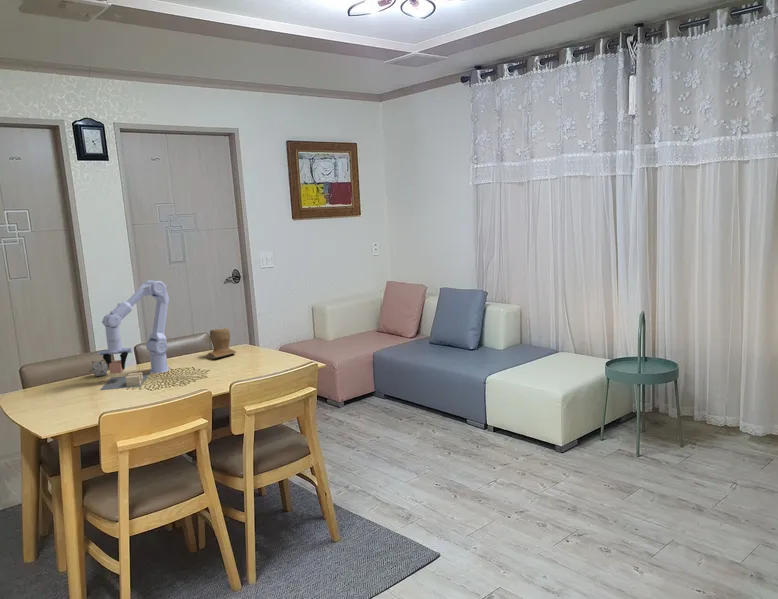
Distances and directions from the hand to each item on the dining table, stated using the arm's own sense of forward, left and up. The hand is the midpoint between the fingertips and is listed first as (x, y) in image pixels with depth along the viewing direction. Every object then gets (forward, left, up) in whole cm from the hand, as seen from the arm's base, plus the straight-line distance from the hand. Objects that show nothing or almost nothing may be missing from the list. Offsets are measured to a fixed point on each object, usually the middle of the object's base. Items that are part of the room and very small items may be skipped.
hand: (117, 369), depth 279 cm
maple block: (+9, +9, -5) cm, 14 cm away
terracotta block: (0, 0, -1) cm, 1 cm away
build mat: (+4, +4, -6) cm, 8 cm away
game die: (-13, -11, -6) cm, 18 cm away
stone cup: (-34, +43, -6) cm, 55 cm away
